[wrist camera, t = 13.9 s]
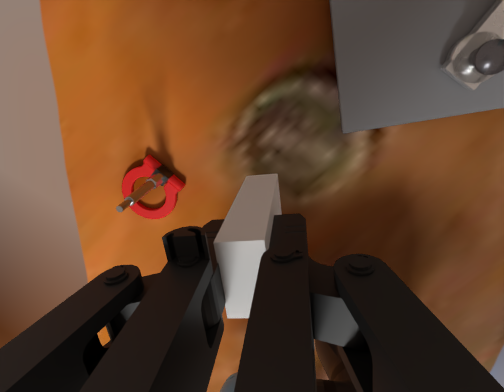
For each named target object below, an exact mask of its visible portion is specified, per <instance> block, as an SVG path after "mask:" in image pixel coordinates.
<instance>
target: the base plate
mask: <svg viewBox="0 0 504 392" xmlns="http://www.w3.org/2000/svg"><path fill="white" fill-rule="evenodd" d="M329 2H330V13H331V23H332V34H333V44H334V55H335V65H336V76H337V86H338V96H339V107H340V117H341V128H342V132H343V134H344V133H351V132H357V131H363V130H369V129H375V128H381V127H388V126H394V125H400V124H406V123H412V122H418V121H424V120H431V119H437V118H443V117H449V116H455V115H461V114H468V113H474V112H480V111H486V110H492V109H498V108H504V70H503V71H501V72H500V73H497V74H494V75H493V76H492V77H491V78H489V79H487V80H485V81H483V82H481V83H480V84H479V86H478V87H477V88H476V89H475V90H468V89H466V88H464V87H463V86H462V85H460V84H459V83H458V82H456V81H455V80H454V79H453V78H451V77H450V76H449V75H447V74H446V73H445V72H443V71H442V70H441V69H439V68H440V67H441V66H442V65H443V64H444V62H445V61H446V59H447V55H448V53H449V51H450V49H451V47H452V46H453V45H454V44H455V43H456V42H457V41H458V40H459V39H460V38H462V37H464V36H466V35H468V34H469V33H470V31H471V30H472V29H473V28H474V27H475V25H476V24H477V23H478V22H479V21H480V20H481V18H482V17H483V16H484V15H485V14H486V12H487V11H488V10H489V9H490V8H491V6H492V5H493V4H494V3H495V2H496V0H329Z"/></svg>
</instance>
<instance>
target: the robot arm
mask: <svg viewBox="0 0 504 392" xmlns="http://www.w3.org/2000/svg"><path fill="white" fill-rule="evenodd" d="M162 240H163V244H164V248H165V252H166V256H167V260H168V262H167V264H166V265H165V267H164V268H163V270H162V271H161V273H157V274H152V275H148V276H144V277H142V276H141V272H140V269H139V268H138V267H137V266H134V265H120V266H115V267H113V268H111V269H109V270H107V271H105V272H103V273H102V274H100V275H98V276H97V277H96V278H94V279H93V280H92V281H90V282H89V283H88V284H86V285H85V286H84V287H83V288H81V289H80V290H78V291H77V292H76V293H74V294H73V295H72V296H70V297H69V298H68V299H66V300H65V301H64V302H62V303H61V304H60V305H58V306H57V307H55V308H54V309H53V310H52V311H50V312H49V313H47V314H46V315H45V316H43V317H42V318H41V319H39V320H38V321H37V322H35V323H34V324H33V325H31V326H30V327H29V328H27V329H26V330H25V331H23V332H22V333H21V334H19V335H18V336H17V337H15V338H14V339H13V340H11V341H10V342H8V343H7V344H6V345H5V346H3V347H2V348H1V349H0V392H206V391H207V388H208V384H209V381H210V377H211V373H212V370H213V366H214V363H215V359H216V356H217V352H218V349H219V345H220V342H221V338H222V335H223V331H224V323H223V318H222V313H223V309H224V306H225V307H226V313H227V318H249V319H248V324H247V329H246V334H245V339H244V344H243V349H242V354H241V359H240V364H239V369H238V372H237V373H234V374H232V375H231V376H230V377H229V378H228V379H227V380H226V382H225V383H224V384H223V386H222V388H221V390H220V392H504V388H503V387H502V386H501V385H500V384H499V383H498V382H497V381H496V380H495V379H494V377H493V376H492V375H491V374H490V373H489V372H488V371H487V370H486V369H485V368H484V367H483V366H482V365H481V364H480V363H479V362H478V361H477V360H476V358H475V357H474V356H473V355H472V354H471V353H470V352H469V351H468V350H467V349H466V348H465V347H464V346H463V345H462V344H461V343H460V342H459V341H458V339H457V338H456V337H455V336H454V335H453V334H452V333H451V332H450V331H449V330H448V329H447V328H446V327H445V326H444V325H443V324H442V323H441V322H440V320H439V319H438V318H437V317H436V316H435V315H434V314H433V313H432V312H431V311H430V310H429V309H428V308H427V307H426V306H425V305H424V304H423V303H422V301H421V300H420V299H419V298H418V297H417V296H416V295H415V294H414V293H413V292H412V291H411V290H410V289H409V288H408V287H407V286H406V285H405V284H404V282H403V281H402V280H401V279H400V278H399V277H398V276H397V275H396V274H395V273H394V272H393V271H392V270H391V269H390V268H389V267H388V266H387V265H386V263H384V262H383V261H381V260H380V259H379V258H376V257H373V256H370V255H366V254H351V255H347V256H343V257H341V258H340V259H338V260H337V261H336V262H335V264H334V266H333V267H332V266H326V265H322V264H319V263H317V262H315V261H313V260H312V259H311V258H310V257H309V256H308V245H307V232H306V219H305V218H304V217H303V216H302V215H301V214H284V215H282V212H281V202H280V193H279V183H278V173H277V174H265V175H253V176H246V178H245V180H244V182H243V184H242V186H241V188H240V190H239V192H238V194H237V196H236V198H235V200H234V202H233V204H232V206H231V208H230V210H229V212H228V214H227V216H226V218H225V219H220V220H211V221H210V222H208V223H207V224H206V225H204V226H203V228H201V227H198V226H188V227H182V228H178V229H175V230H173V231H170V232H168V233H167V234H165V235H164V236H163V237H162ZM105 325H106V328H107V331H108V334H109V337H110V341H109V342H108V343H107V344H105V345H104V346H102V345H101V343H100V340H99V338H98V335H97V333H98V332H99V331H100V330H101V329H102V328H103V327H104V326H105ZM314 339H315V346H316V351H317V354H318V357H319V359H320V361H321V363H322V365H323V367H324V369H325V371H326V374H327V376H328V378H329V380H322V379H316V371H315V354H314V350H315V348H314Z"/></svg>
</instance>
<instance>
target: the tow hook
mask: <svg viewBox="0 0 504 392" xmlns="http://www.w3.org/2000/svg"><path fill="white" fill-rule="evenodd" d="M143 162H144V164H143V165H142V166H138V167H135V168H133V169H132V170H130V171H129V172H128V173H127V174H126V176H125V177H124V179H123V183H122V193H123V196H124V199H125V200H124V202H122V203H121V204H120V205H119V206H117V208H116V209H117V211H118V212H122V211H124V210H125V209H126V208H127V207H130V208H131V209H132V210H133V211H134V212H136V213H137V214H138V215H140V216H143V217H145V218H149V219H160V218H163V217H165V216H167V215H168V214H169V213H170V212H171V211H172V210H173V209H174V207H175V205H176V202H177V193H178V191H181V190H182V188H183V187H184V186H185V183H183V182H182V181H181V180H180V179H179V178H177V177H176V176H175V175H174V173H172V172H171V171H170V170H169V169H168V168H166V167H165V166H164V165H162V164H161V163H159V162H158V161H157V160H156V159H155V158H153V157H152V156H151V155H148V156H147V157H146V158H145V159H144V161H143ZM144 176H147V177H149V178H148V179H147V180H146V183H144V184H143V185H142V186H140V187H139V188H138V189H136V190H135V191H133V186H134V183H135V181H136V179H138V178H140V177H144ZM166 182H167V183H166ZM165 183H166V185H165V186H164V190H165V193H166V201H165V203H164V205H163V206H162V207H160V208H155V209H152V208H148V207H145V206H144V205H142V204H141V203H140V202H139V200H140V199H141V198H142V197H143V196H145V195H146V194H147V193H148V192H149V191H151V190H152V189H155V188H157V187H158V186H159V185H161V186H163V185H164V184H165Z"/></svg>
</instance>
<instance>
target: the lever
mask: <svg viewBox="0 0 504 392" xmlns="http://www.w3.org/2000/svg"><path fill="white" fill-rule="evenodd" d="M439 69H441V70H442V71H443V72H445V73H446V74H447V75H449V76H450V77H451V78H453V79H454V80H455V81H456V82H458V83H459V84H460V85H462V86H463V87H464V88H466V89H468V90H475V89H476V88H477V87H478V86H479V84H480V83H481V82H483V81H485V80H487V79H489V78H491V77H492V76H493V75H494V74H497V73H500V72H501V71H503V70H504V0H496V2H495V3H494V4H493V5H492V6H491V8H490V9H489V10H488V11H487V12H486V14H485V15H484V16H483V17H482V18H481V20H480V21H479V22H478V23H477V24H476V25H475V27H474V28H473V29H472V30H471V31H470V33H469V34H468V35H466V36H464V37H462V38H460V39H459V40H458V41H457V42H456V43H455V44H454V45H453V46H452V47H451V49H450V51H449V53H448V55H447V59H446V61H445V62H444V64H443V65H442V66H441V67H440V68H439Z"/></svg>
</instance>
